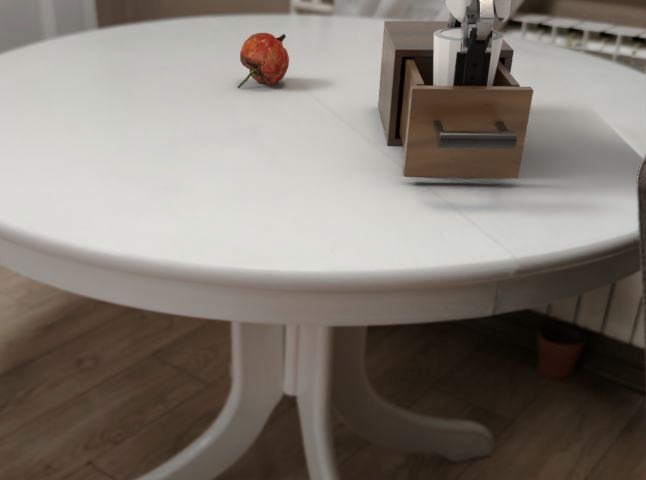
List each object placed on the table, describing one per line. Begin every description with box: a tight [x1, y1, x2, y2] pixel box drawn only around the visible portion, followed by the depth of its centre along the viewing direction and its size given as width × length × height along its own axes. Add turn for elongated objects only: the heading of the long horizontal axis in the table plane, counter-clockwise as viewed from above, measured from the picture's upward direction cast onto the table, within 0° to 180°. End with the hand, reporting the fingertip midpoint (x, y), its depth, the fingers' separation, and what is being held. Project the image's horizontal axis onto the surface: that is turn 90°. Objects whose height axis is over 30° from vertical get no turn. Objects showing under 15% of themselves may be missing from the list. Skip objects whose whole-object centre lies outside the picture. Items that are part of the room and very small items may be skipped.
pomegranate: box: [237, 32, 290, 89], centre depth 113 cm, size 7×7×10 cm
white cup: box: [433, 27, 505, 86], centre depth 82 cm, size 7×7×7 cm
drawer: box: [398, 57, 534, 180], centre depth 82 cm, size 20×11×9 cm, turn 177°
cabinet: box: [377, 20, 515, 147], centre depth 96 cm, size 16×13×11 cm
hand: (462, 82), depth 83 cm, fingers closed on white cup, 6 cm apart
